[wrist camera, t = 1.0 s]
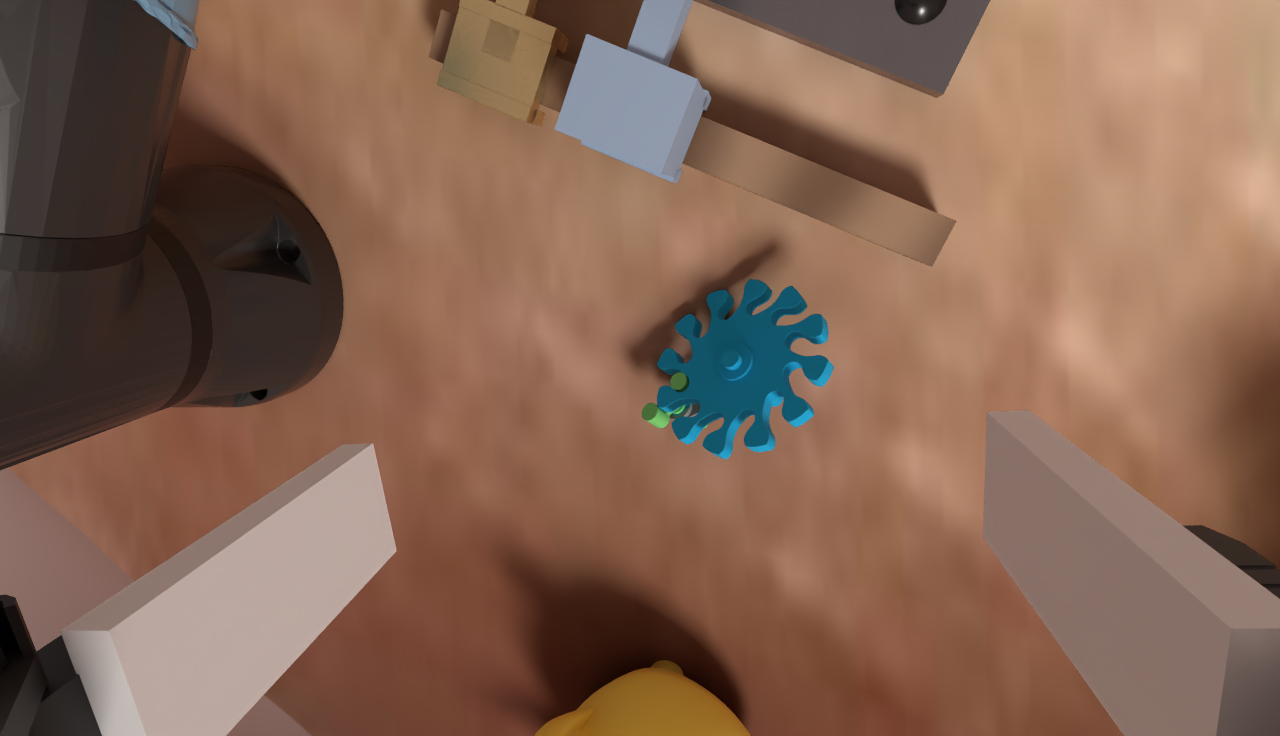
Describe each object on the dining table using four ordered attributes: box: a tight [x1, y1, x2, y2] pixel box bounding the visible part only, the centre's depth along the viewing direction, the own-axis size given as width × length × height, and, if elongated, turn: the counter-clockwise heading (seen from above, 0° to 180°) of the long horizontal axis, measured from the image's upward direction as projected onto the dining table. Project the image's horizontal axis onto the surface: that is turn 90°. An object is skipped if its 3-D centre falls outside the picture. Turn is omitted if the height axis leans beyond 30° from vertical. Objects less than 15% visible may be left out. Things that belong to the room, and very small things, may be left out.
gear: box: [642, 279, 834, 459], centre depth 37 cm, size 11×6×10 cm
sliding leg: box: [555, 0, 711, 183], centre depth 30 cm, size 5×13×7 cm, turn 158°
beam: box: [429, 9, 956, 266], centre depth 35 cm, size 28×2×3 cm, turn 68°
